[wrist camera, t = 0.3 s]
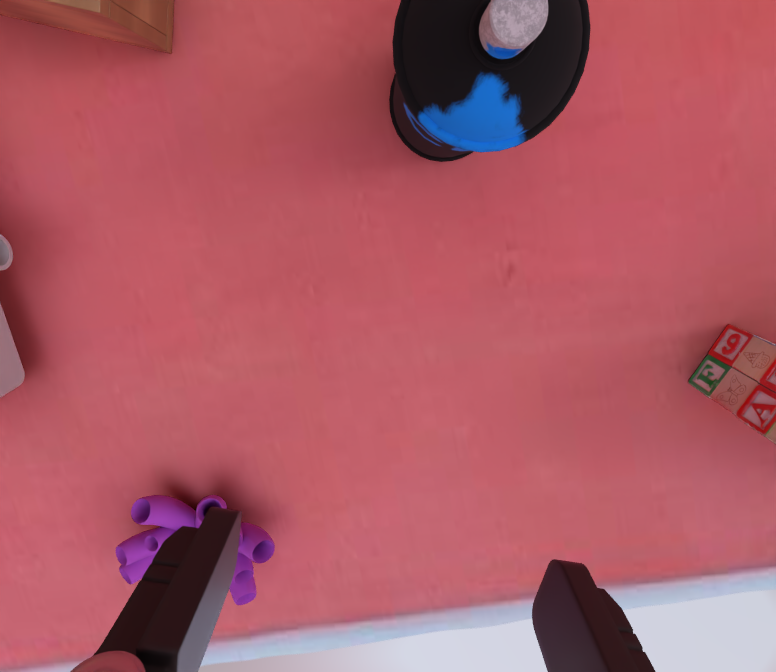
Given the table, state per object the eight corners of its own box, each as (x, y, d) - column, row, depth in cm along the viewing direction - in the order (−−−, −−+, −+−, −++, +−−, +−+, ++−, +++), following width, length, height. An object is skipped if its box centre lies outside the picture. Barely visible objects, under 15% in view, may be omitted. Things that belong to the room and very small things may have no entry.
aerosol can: (391, 35, 33) (400, -158, 14) (506, 40, 33) (673, -144, 14) (387, 159, 35) (389, 142, 16) (493, 163, 35) (617, 151, 17)
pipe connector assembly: (152, 498, 50) (89, 503, 40) (287, 480, 49) (255, 481, 40) (148, 616, 46) (78, 650, 37) (294, 599, 45) (259, 629, 36)
